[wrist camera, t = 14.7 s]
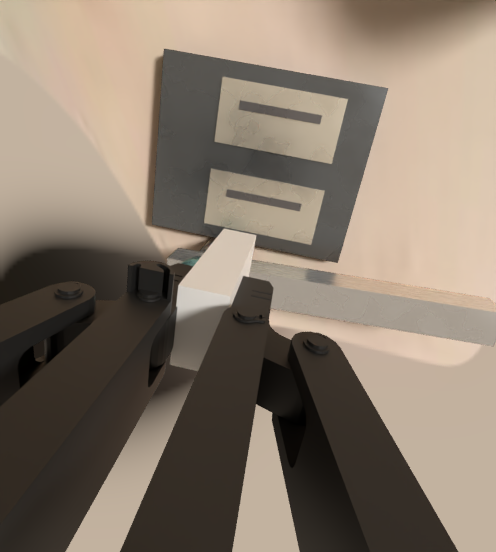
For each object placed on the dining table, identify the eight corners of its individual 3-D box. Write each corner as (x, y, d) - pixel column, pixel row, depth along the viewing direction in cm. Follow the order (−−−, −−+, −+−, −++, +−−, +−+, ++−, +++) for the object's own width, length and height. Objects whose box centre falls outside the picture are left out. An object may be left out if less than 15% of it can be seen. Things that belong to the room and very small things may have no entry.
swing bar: (176, 284, 28) (161, 301, 25) (178, 241, 27) (163, 254, 24) (473, 334, 26) (496, 360, 23) (492, 291, 25) (518, 312, 22)
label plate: (157, 221, 31) (150, 225, 30) (169, 52, 26) (162, 47, 25) (336, 258, 30) (337, 264, 29) (384, 90, 25) (389, 87, 24)
